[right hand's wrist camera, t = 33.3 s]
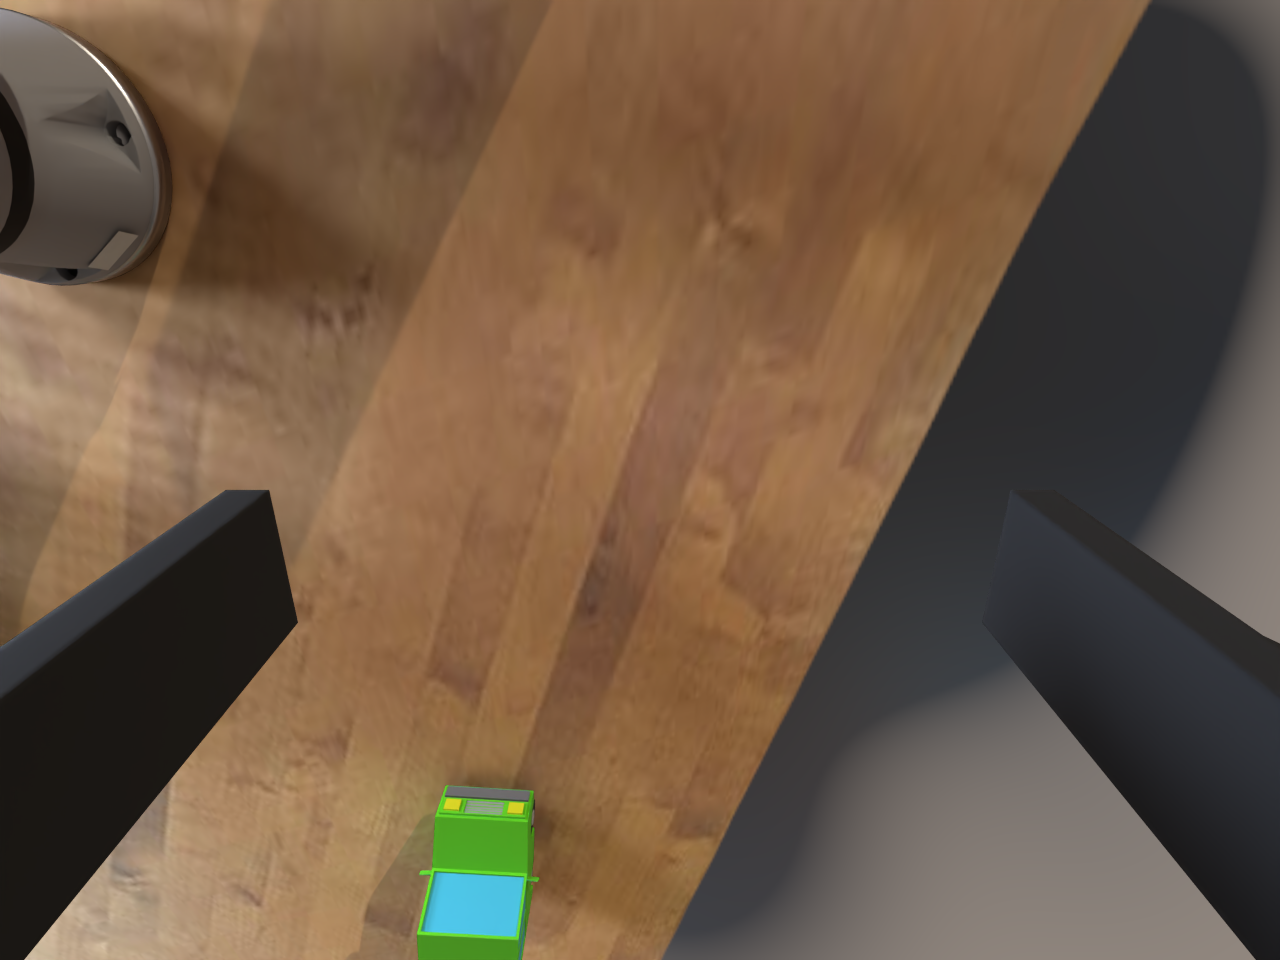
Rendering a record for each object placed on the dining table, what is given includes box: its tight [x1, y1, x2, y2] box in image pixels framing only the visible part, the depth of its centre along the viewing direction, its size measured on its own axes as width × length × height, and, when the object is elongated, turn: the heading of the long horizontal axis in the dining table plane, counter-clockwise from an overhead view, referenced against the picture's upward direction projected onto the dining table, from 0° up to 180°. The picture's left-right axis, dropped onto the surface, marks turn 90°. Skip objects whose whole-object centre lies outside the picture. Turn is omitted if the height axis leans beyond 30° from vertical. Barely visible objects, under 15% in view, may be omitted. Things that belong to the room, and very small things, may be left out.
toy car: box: [417, 785, 540, 960], centre depth 60 cm, size 10×13×10 cm
